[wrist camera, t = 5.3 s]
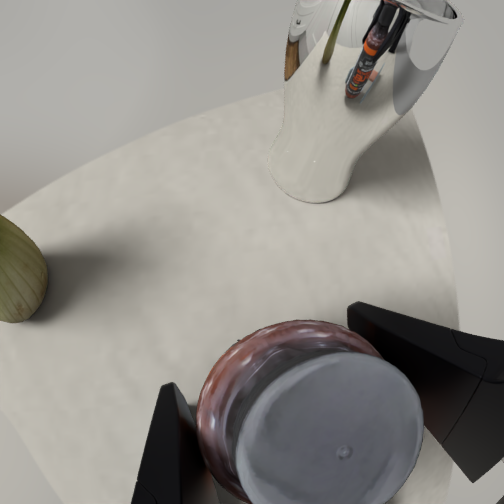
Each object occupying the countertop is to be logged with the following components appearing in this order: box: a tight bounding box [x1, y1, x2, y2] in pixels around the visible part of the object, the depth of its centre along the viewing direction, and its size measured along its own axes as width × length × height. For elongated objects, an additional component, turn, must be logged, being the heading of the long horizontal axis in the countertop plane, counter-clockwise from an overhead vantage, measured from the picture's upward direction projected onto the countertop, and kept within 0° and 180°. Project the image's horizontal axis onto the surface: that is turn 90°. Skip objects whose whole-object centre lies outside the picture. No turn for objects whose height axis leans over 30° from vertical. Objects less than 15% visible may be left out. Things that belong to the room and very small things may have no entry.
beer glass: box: [267, 0, 464, 203], centre depth 15 cm, size 7×7×15 cm
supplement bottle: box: [196, 320, 424, 504], centre depth 10 cm, size 6×6×11 cm
